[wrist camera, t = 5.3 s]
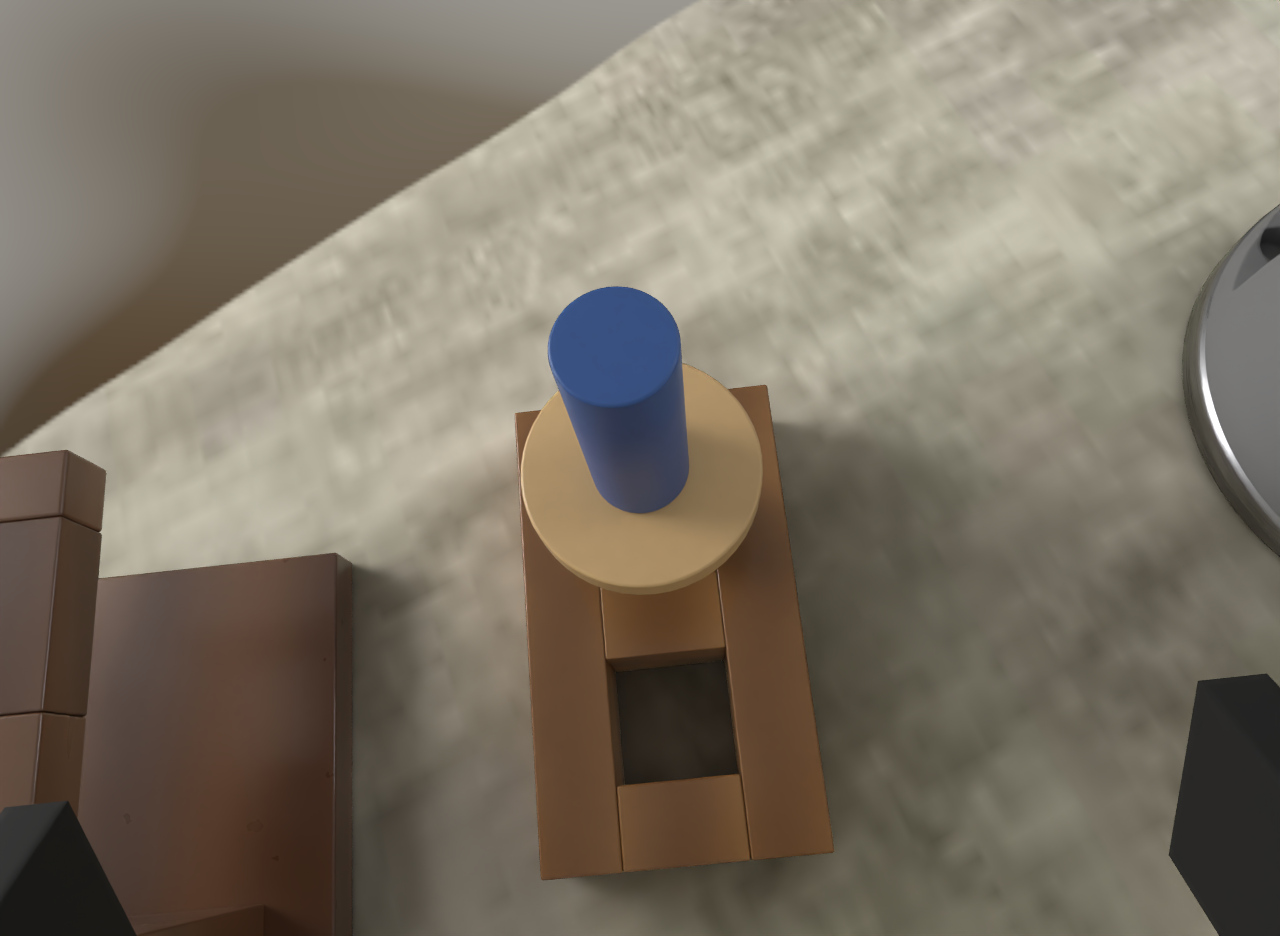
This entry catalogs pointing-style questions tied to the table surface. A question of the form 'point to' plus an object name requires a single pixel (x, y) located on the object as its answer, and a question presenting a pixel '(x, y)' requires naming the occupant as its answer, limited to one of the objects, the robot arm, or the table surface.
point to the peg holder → (660, 637)
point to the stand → (179, 715)
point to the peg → (637, 452)
